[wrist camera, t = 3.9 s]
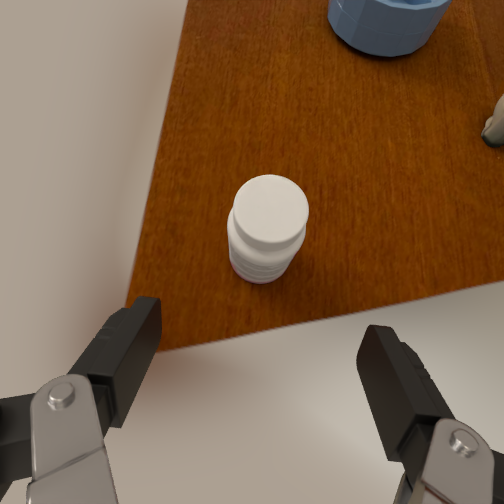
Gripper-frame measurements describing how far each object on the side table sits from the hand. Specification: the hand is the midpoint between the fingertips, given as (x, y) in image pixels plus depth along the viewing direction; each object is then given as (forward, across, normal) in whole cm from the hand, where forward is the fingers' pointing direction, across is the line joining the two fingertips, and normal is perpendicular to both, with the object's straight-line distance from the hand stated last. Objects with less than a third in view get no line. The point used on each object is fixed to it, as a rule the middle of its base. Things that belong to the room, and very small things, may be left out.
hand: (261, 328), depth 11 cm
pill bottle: (+12, 0, +3) cm, 12 cm away
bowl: (+32, -10, -17) cm, 37 cm away
